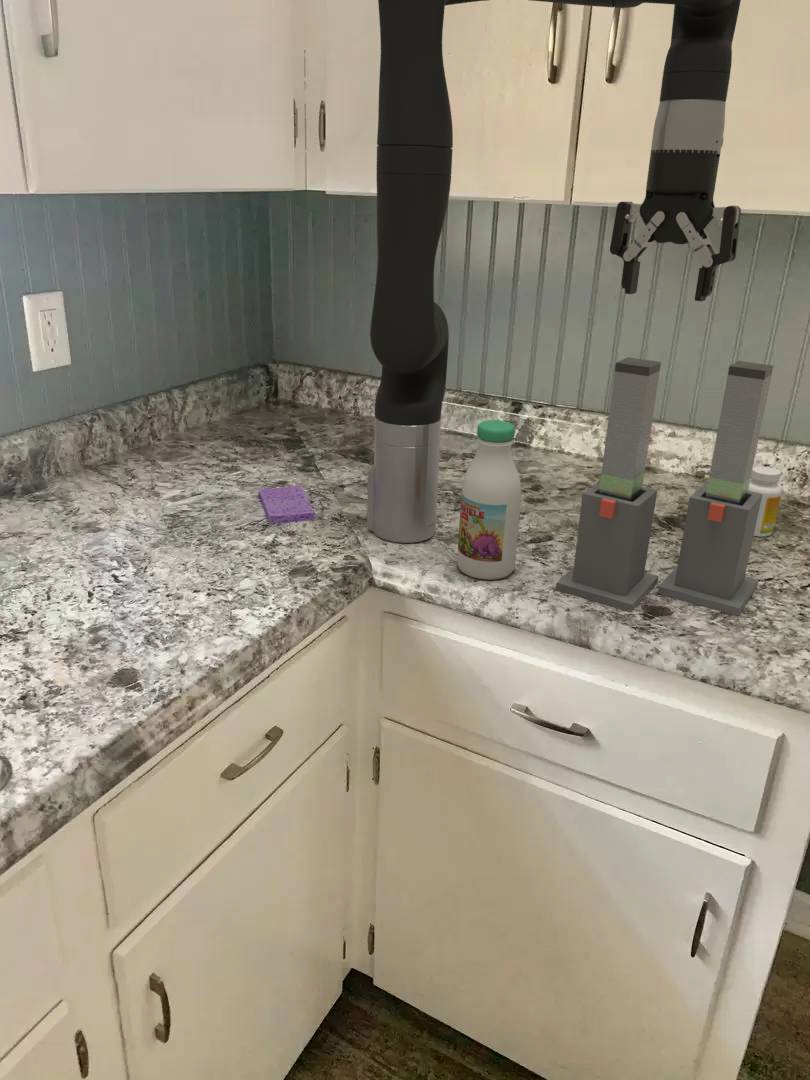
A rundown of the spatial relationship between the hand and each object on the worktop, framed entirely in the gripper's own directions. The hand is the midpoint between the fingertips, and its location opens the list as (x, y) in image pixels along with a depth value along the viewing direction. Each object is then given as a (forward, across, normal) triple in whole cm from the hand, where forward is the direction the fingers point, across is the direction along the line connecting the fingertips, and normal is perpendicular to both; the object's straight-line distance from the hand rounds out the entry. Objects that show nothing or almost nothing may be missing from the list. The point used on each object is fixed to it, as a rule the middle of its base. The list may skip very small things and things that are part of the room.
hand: (664, 297), depth 100 cm
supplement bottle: (+36, +11, +25) cm, 45 cm away
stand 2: (+36, +11, 0) cm, 37 cm away
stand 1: (+36, 0, -8) cm, 36 cm away
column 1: (+28, 0, -8) cm, 29 cm away
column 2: (+28, +11, 0) cm, 31 cm away
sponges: (+36, -51, -13) cm, 64 cm away
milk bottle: (+36, -15, -13) cm, 41 cm away
